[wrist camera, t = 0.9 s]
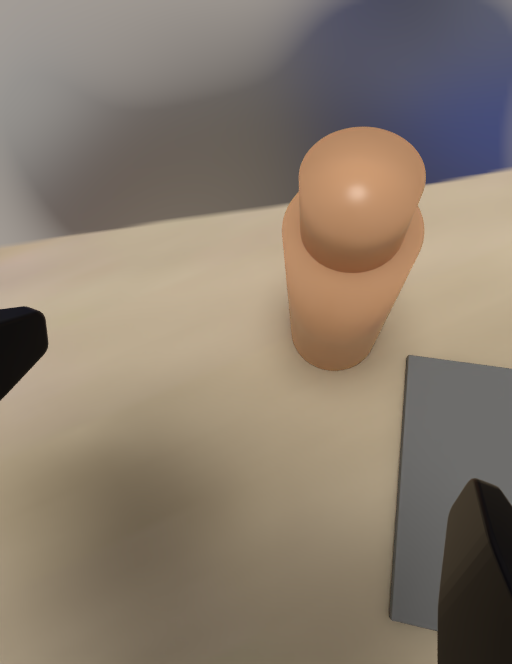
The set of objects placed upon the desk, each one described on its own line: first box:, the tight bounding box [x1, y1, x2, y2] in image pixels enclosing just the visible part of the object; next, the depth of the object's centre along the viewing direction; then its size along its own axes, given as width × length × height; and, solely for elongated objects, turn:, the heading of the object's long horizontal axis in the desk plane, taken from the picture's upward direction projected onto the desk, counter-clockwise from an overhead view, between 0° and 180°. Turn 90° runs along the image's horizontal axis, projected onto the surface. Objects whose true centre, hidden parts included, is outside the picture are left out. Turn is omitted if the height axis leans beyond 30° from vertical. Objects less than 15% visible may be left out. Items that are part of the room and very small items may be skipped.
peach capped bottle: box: [282, 127, 426, 371], centre depth 17 cm, size 5×5×12 cm
